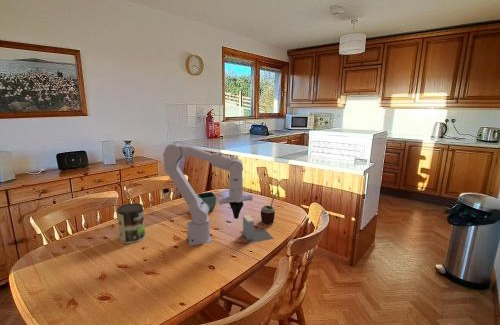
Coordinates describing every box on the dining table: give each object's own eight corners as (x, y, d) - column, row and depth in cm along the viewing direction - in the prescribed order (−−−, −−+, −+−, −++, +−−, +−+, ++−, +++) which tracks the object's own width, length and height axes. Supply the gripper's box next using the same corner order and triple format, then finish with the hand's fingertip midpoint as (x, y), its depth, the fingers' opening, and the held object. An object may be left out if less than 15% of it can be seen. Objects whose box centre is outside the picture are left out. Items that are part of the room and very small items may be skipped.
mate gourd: (259, 224, 128) (260, 196, 125) (262, 218, 136) (263, 190, 132) (274, 226, 126) (275, 197, 123) (276, 219, 134) (277, 192, 131)
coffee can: (150, 233, 118) (148, 204, 115) (136, 244, 108) (133, 213, 105) (130, 230, 120) (127, 202, 117) (114, 241, 110) (111, 211, 107)
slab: (247, 240, 112) (247, 221, 110) (242, 233, 118) (243, 215, 116) (253, 239, 113) (254, 220, 111) (248, 232, 119) (249, 214, 117)
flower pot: (197, 208, 146) (196, 193, 144) (212, 206, 150) (211, 191, 148) (201, 214, 139) (200, 198, 137) (216, 211, 142) (216, 196, 140)
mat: (248, 244, 110) (248, 243, 110) (239, 232, 120) (239, 231, 120) (273, 239, 114) (273, 238, 114) (263, 228, 124) (263, 227, 124)
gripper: (221, 192, 102) (222, 224, 105) (255, 188, 107) (255, 219, 110) (217, 187, 108) (217, 217, 111) (249, 183, 114) (249, 212, 117)
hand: (236, 217), depth 111 cm, fingers closed
